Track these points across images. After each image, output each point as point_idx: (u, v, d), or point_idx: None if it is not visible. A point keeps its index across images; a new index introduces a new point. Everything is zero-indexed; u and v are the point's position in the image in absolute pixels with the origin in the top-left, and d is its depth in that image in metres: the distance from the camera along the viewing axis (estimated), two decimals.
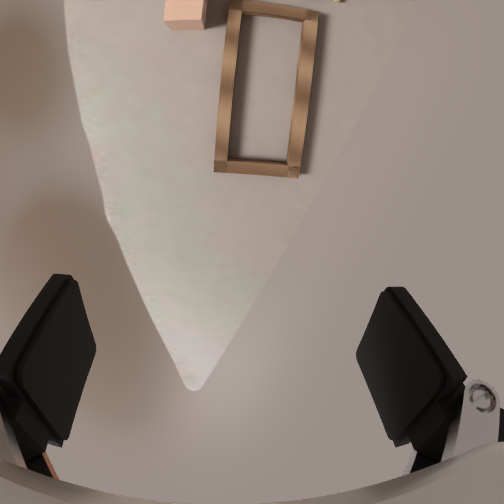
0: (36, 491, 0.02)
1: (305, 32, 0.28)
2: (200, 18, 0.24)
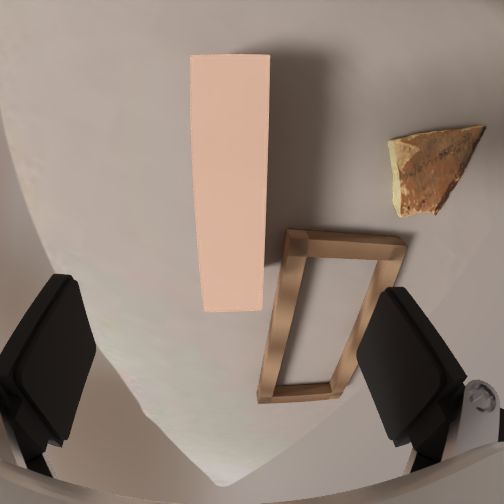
0: (36, 491, 0.02)
1: (383, 277, 0.25)
2: (260, 307, 0.21)
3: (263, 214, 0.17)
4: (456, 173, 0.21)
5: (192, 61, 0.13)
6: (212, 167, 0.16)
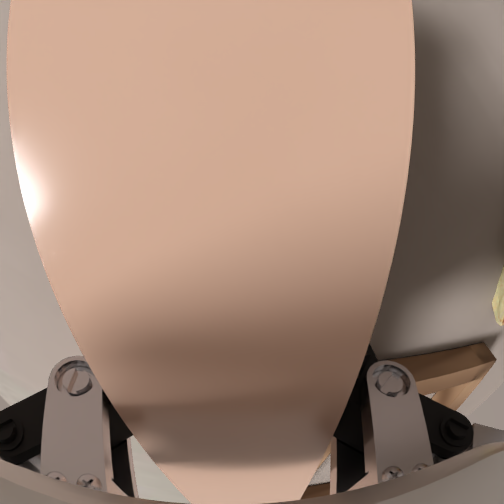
0: (36, 491, 0.02)
1: (455, 399, 0.14)
2: None
3: (319, 453, 0.06)
4: None
5: None
6: (171, 405, 0.04)
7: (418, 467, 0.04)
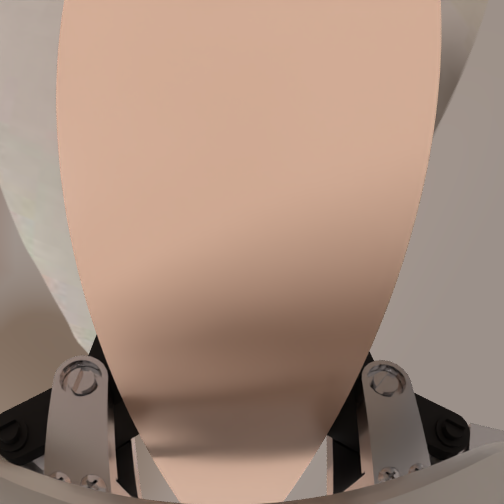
0: (36, 491, 0.02)
1: None
2: None
3: (312, 450, 0.06)
4: None
5: None
6: (179, 392, 0.04)
7: (413, 468, 0.04)
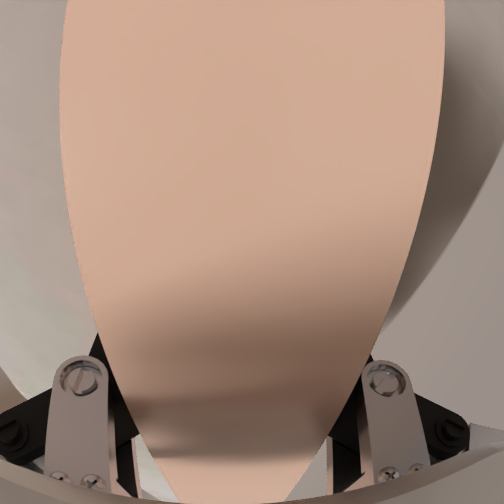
0: (36, 491, 0.02)
1: None
2: None
3: (313, 451, 0.06)
4: None
5: None
6: (181, 394, 0.04)
7: (412, 468, 0.04)
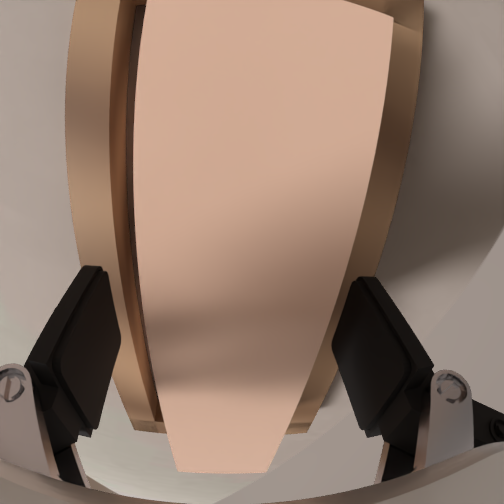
0: (36, 491, 0.02)
1: None
2: None
3: (298, 390, 0.08)
4: None
5: None
6: (194, 311, 0.06)
7: None
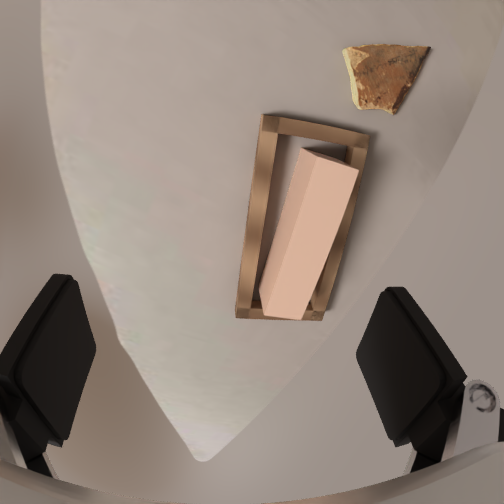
0: (36, 491, 0.02)
1: (351, 165, 0.28)
2: (300, 318, 0.31)
3: (324, 261, 0.28)
4: (407, 80, 0.24)
5: (317, 160, 0.23)
6: (306, 227, 0.26)
7: None
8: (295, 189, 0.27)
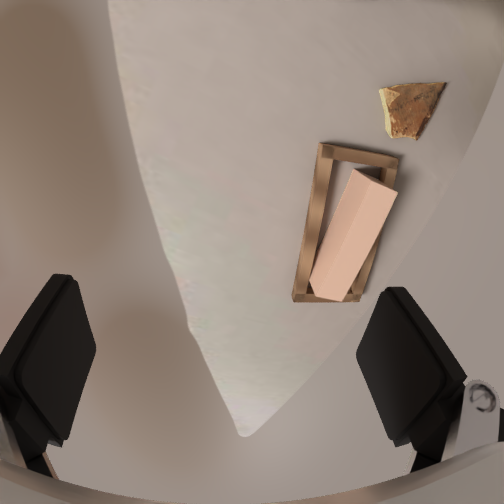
0: (36, 491, 0.02)
1: (385, 181, 0.35)
2: (341, 300, 0.39)
3: (365, 256, 0.36)
4: (427, 112, 0.31)
5: (371, 183, 0.31)
6: (357, 231, 0.34)
7: None
8: (348, 201, 0.35)
